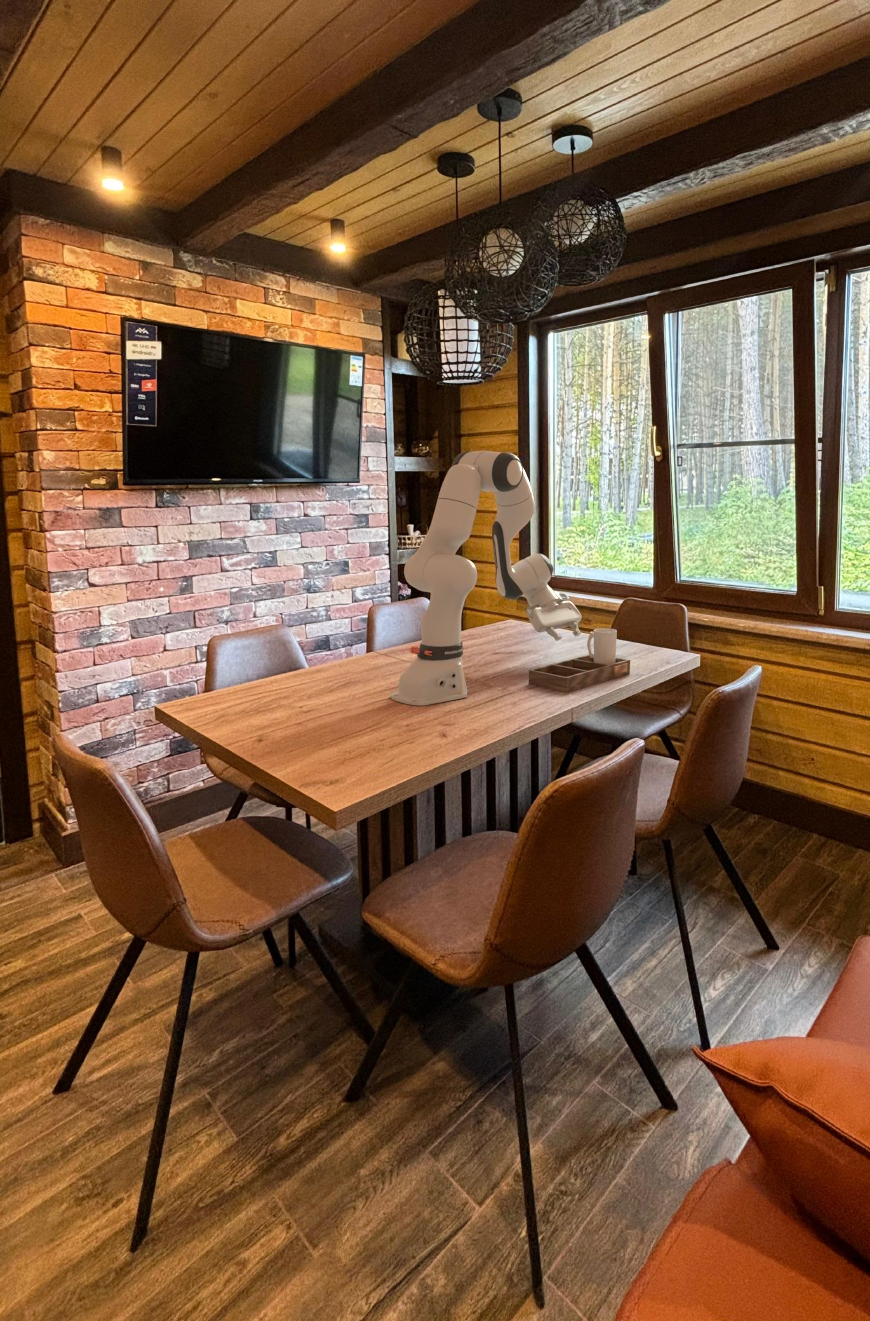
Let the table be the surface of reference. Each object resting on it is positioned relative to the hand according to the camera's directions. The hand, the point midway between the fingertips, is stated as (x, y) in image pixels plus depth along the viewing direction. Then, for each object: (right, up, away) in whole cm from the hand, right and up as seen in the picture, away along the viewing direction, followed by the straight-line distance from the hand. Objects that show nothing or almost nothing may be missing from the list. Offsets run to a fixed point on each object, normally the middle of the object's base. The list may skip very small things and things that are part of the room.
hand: (569, 637), depth 235 cm
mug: (+8, -10, -7) cm, 15 cm away
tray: (+1, -13, -13) cm, 18 cm away
